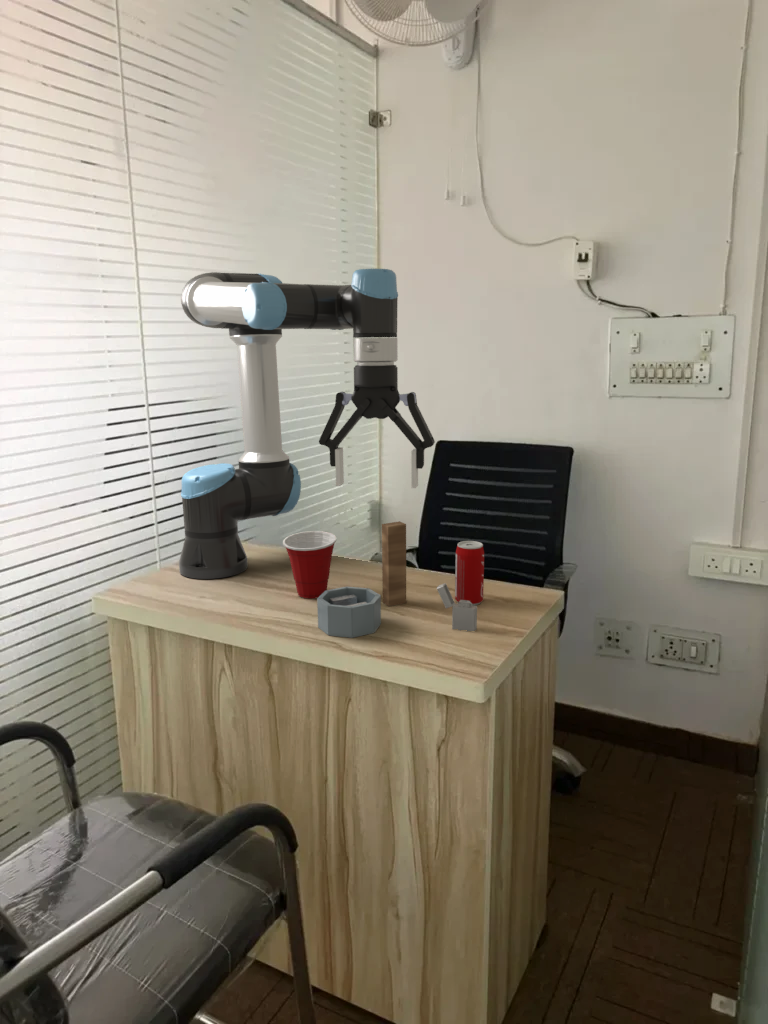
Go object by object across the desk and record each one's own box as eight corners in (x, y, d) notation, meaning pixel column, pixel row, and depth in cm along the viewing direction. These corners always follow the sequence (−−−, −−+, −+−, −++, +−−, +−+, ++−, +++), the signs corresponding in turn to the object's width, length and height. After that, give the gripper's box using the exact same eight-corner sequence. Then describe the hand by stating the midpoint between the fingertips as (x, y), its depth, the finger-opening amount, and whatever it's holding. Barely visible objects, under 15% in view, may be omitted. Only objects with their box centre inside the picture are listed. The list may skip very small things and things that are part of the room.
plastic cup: (274, 598, 149) (271, 541, 146) (304, 582, 158) (302, 528, 156) (319, 607, 144) (317, 547, 141) (347, 590, 153) (346, 534, 151)
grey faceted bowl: (310, 621, 137) (309, 593, 135) (361, 611, 142) (361, 583, 140) (336, 641, 128) (335, 611, 126) (389, 629, 133) (389, 600, 131)
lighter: (476, 628, 133) (477, 586, 131) (474, 632, 131) (475, 589, 129) (439, 623, 135) (439, 581, 133) (436, 626, 134) (436, 584, 132)
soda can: (486, 605, 144) (487, 546, 141) (458, 607, 143) (459, 547, 141) (479, 596, 149) (480, 538, 147) (452, 597, 149) (453, 539, 146)
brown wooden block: (382, 602, 146) (381, 524, 142) (400, 599, 148) (399, 521, 144) (388, 606, 144) (388, 526, 140) (406, 602, 146) (406, 523, 142)
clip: (330, 619, 136) (329, 598, 135) (353, 614, 138) (352, 594, 137) (345, 630, 131) (345, 609, 130) (369, 625, 133) (369, 604, 132)
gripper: (299, 364, 126) (303, 487, 130) (445, 364, 121) (444, 491, 126) (311, 363, 133) (315, 479, 138) (450, 362, 128) (449, 483, 133)
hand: (376, 485), depth 132 cm, fingers open, 13 cm apart
